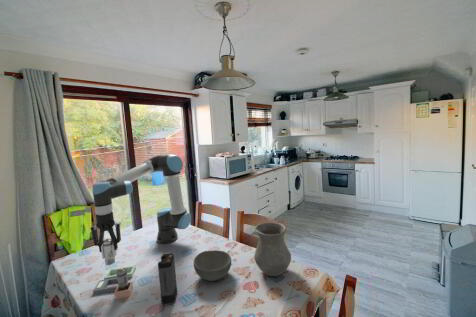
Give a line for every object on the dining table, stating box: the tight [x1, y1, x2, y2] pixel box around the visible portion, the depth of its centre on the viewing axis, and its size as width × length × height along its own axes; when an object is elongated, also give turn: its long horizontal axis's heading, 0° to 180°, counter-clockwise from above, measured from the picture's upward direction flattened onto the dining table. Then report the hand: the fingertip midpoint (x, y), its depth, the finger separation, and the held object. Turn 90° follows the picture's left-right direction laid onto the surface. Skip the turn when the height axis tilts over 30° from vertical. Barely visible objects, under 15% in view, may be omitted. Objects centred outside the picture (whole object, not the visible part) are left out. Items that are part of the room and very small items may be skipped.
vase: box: [254, 221, 292, 277], centre depth 120 cm, size 20×19×25 cm
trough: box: [103, 265, 137, 280], centre depth 125 cm, size 14×8×3 cm, turn 101°
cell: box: [103, 237, 116, 266], centre depth 114 cm, size 4×4×13 cm
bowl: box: [193, 249, 232, 282], centre depth 121 cm, size 20×20×10 cm
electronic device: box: [157, 252, 178, 306], centre depth 105 cm, size 9×6×20 cm, turn 5°
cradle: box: [92, 278, 118, 295], centre depth 116 cm, size 12×8×3 cm
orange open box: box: [114, 281, 134, 300], centre depth 110 cm, size 6×6×4 cm
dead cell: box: [116, 267, 129, 291], centre depth 110 cm, size 4×4×13 cm
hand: (109, 256), depth 115 cm, fingers closed on cell, 4 cm apart
